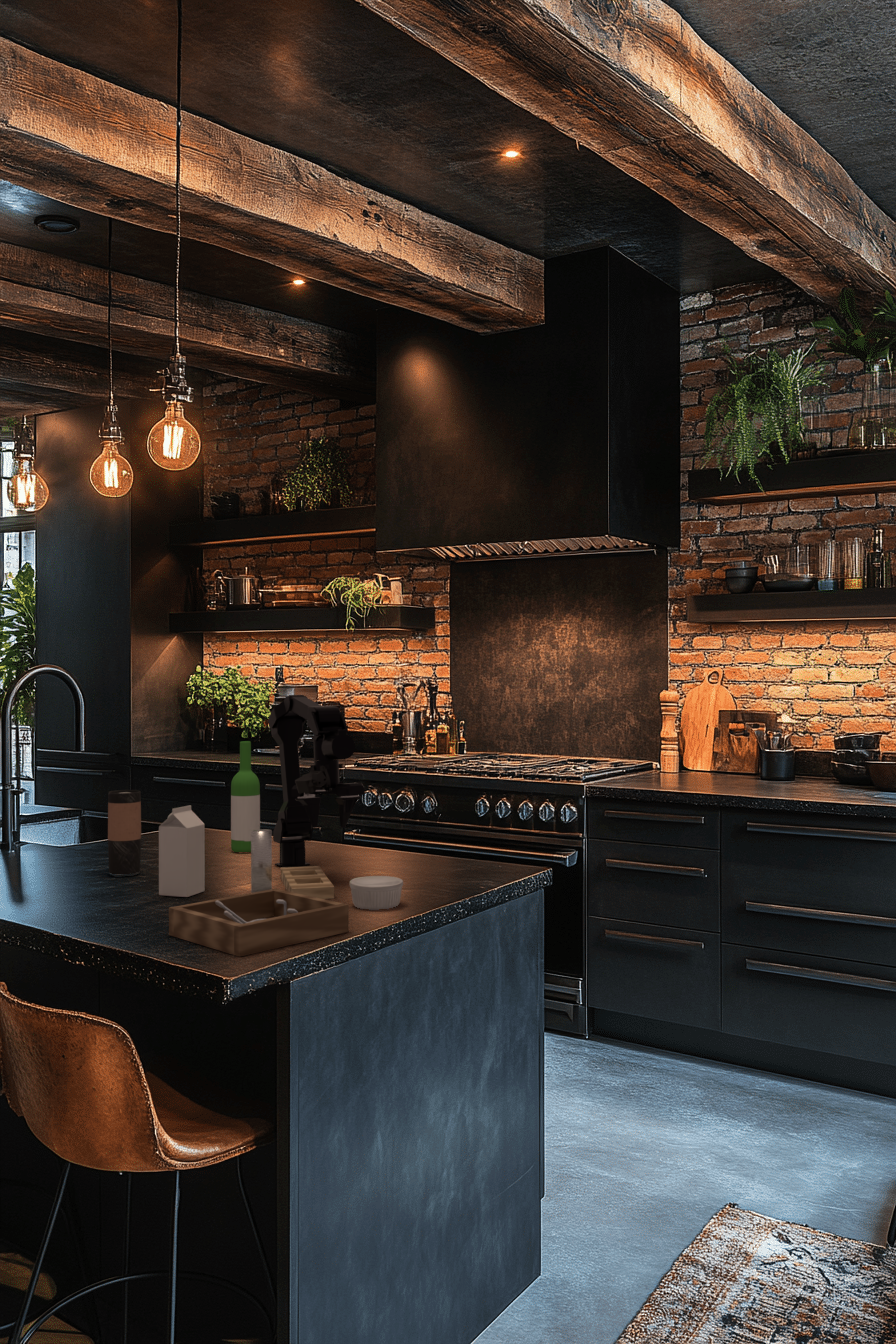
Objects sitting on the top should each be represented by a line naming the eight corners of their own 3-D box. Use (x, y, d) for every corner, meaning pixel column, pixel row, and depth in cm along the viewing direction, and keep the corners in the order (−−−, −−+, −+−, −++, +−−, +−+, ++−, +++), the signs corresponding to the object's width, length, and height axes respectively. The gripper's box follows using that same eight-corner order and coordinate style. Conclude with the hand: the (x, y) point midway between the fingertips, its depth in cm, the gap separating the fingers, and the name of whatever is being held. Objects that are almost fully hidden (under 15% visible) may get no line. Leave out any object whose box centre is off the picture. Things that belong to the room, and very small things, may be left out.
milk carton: (204, 891, 233) (204, 805, 233) (186, 898, 226) (186, 809, 227) (177, 889, 235) (177, 804, 236) (158, 896, 229) (158, 808, 229)
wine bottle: (236, 849, 292) (236, 740, 292) (263, 849, 291) (263, 740, 291) (226, 853, 284) (226, 742, 284) (254, 854, 283) (254, 742, 283)
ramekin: (382, 914, 211) (382, 887, 211) (338, 908, 217) (338, 882, 217) (413, 904, 220) (413, 878, 220) (370, 898, 226) (370, 873, 226)
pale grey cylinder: (247, 895, 229) (247, 830, 229) (263, 892, 232) (263, 828, 232) (259, 898, 226) (259, 832, 226) (275, 895, 229) (275, 830, 229)
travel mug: (147, 873, 256) (147, 790, 256) (125, 878, 249) (125, 793, 249) (123, 870, 259) (123, 789, 259) (100, 876, 252) (100, 792, 252)
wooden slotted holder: (280, 878, 249) (280, 867, 249) (318, 876, 251) (318, 865, 251) (291, 900, 223) (291, 888, 223) (334, 898, 226) (334, 886, 226)
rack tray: (168, 934, 194) (168, 907, 194) (275, 913, 211) (275, 888, 211) (239, 956, 178) (239, 927, 178) (348, 931, 196) (348, 904, 196)
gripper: (273, 762, 246) (275, 830, 245) (330, 760, 234) (333, 830, 233) (307, 761, 255) (309, 826, 253) (364, 758, 243) (367, 826, 242)
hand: (328, 827), depth 245 cm, fingers open, 9 cm apart
